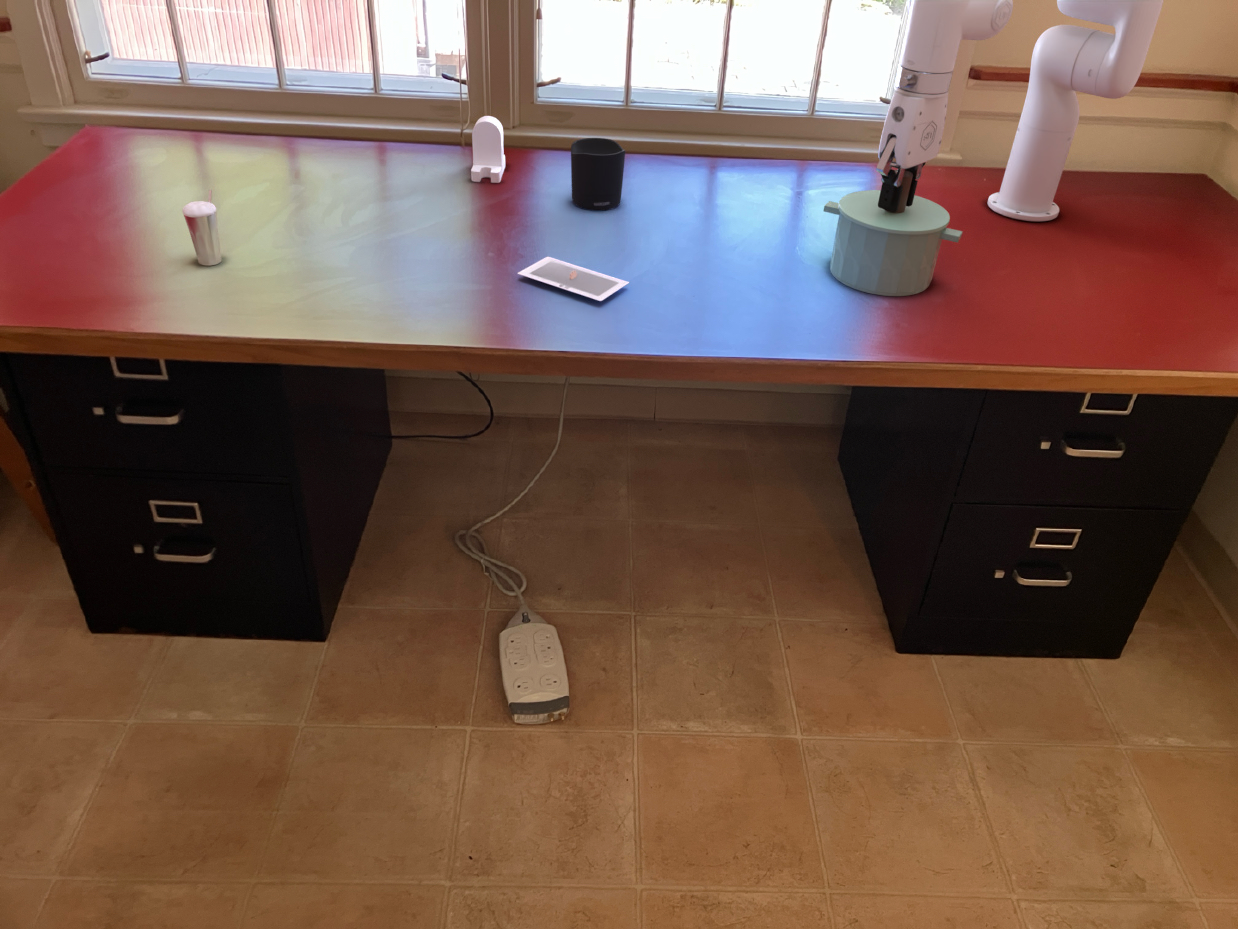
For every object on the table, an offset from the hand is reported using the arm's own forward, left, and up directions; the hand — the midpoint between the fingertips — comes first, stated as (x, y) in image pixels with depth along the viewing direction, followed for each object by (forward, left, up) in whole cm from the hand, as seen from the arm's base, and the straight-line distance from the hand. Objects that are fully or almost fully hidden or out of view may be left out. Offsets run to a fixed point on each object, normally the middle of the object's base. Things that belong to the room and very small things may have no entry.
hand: (894, 205), depth 147 cm
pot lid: (0, 0, -1) cm, 1 cm away
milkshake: (+55, -87, -12) cm, 104 cm away
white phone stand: (-1, -76, -12) cm, 77 cm away
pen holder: (0, -52, -12) cm, 53 cm away
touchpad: (+31, -38, -12) cm, 50 cm away
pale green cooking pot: (0, 0, -11) cm, 11 cm away
